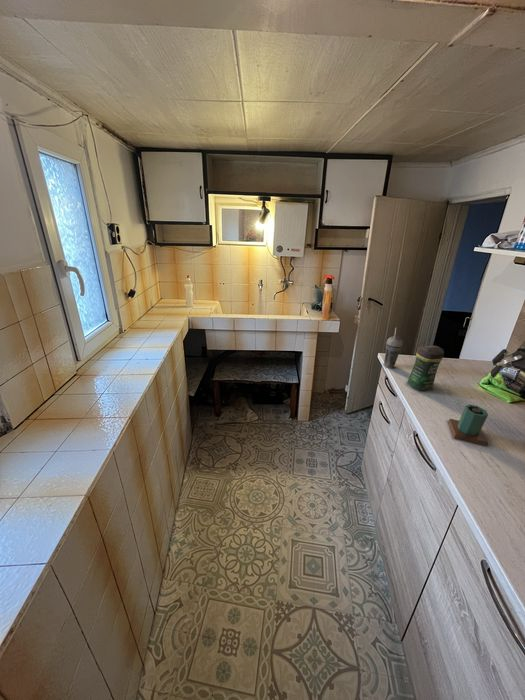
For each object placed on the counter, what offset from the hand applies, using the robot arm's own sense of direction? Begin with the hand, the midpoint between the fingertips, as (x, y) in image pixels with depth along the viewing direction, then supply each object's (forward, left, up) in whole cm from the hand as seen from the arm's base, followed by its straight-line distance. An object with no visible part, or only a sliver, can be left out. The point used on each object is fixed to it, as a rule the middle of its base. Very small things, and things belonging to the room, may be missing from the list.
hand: (506, 382), depth 92 cm
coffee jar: (+19, -19, -18) cm, 32 cm away
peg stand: (+8, +8, -17) cm, 21 cm away
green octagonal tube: (+8, +8, -16) cm, 20 cm away
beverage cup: (+31, -34, -18) cm, 49 cm away
